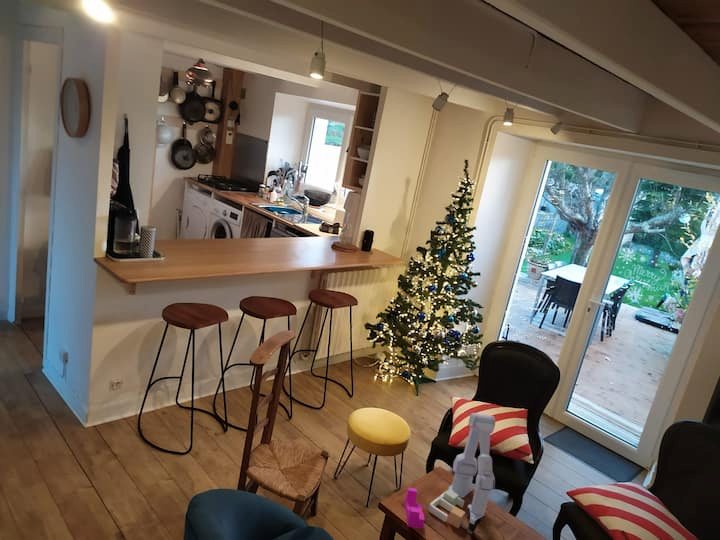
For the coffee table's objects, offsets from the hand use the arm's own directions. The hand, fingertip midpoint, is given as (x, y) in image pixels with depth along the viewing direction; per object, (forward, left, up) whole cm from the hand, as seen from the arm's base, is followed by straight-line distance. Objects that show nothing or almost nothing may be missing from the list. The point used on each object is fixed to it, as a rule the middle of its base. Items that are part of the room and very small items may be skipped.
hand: (472, 528), depth 220 cm
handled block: (+1, -5, -2) cm, 5 cm away
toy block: (+12, -22, -2) cm, 25 cm away
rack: (-3, -15, -2) cm, 15 cm away
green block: (-7, -15, -2) cm, 17 cm away
